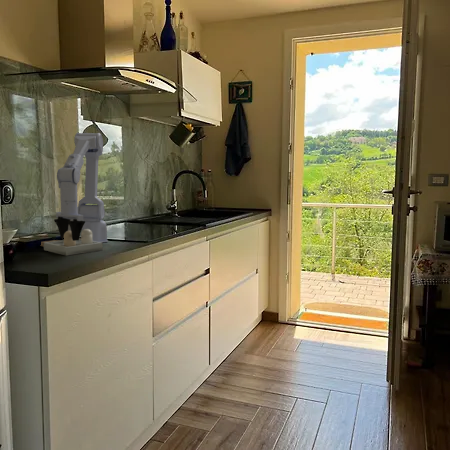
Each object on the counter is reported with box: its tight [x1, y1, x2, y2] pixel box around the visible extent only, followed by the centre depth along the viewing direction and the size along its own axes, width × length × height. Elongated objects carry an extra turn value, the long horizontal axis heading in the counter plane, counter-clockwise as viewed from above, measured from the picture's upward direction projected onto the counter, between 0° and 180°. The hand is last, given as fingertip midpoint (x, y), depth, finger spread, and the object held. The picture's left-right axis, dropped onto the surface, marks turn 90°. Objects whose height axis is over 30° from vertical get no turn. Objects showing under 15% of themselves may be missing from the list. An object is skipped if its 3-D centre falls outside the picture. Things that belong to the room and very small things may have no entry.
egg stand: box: [40, 239, 60, 248], centre depth 176 cm, size 7×7×2 cm
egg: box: [63, 231, 76, 247], centre depth 163 cm, size 4×4×7 cm
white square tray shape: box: [43, 229, 104, 257], centre depth 168 cm, size 15×15×8 cm
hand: (69, 239), depth 163 cm, fingers open, 7 cm apart
